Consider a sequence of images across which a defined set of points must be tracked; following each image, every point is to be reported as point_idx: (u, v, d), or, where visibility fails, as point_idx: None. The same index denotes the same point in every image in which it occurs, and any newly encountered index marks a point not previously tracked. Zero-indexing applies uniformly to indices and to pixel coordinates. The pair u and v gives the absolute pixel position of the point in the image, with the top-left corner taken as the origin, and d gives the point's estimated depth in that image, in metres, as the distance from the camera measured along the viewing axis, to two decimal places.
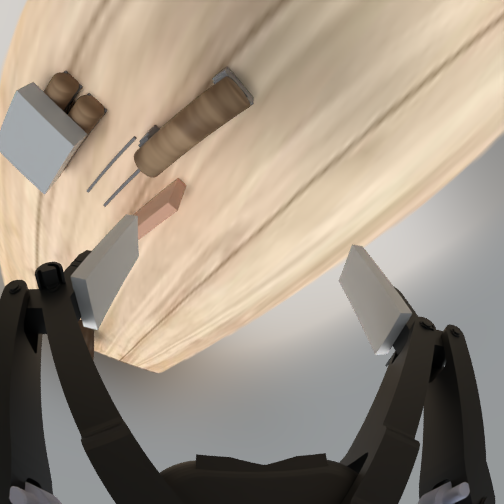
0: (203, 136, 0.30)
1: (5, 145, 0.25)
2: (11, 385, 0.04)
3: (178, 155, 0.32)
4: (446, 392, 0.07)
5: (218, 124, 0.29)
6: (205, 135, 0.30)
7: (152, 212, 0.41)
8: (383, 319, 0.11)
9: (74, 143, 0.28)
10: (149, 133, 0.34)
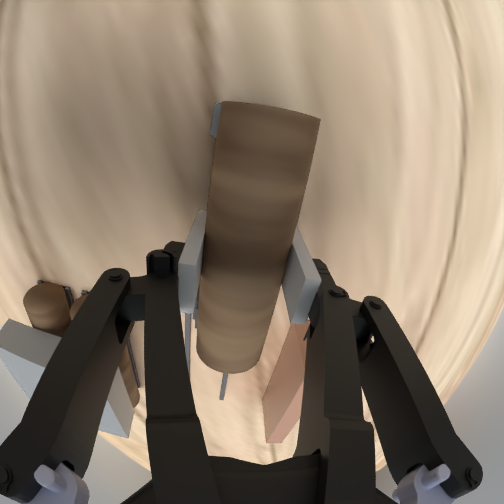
0: (286, 249, 0.14)
1: None
2: (83, 373, 0.06)
3: (268, 313, 0.16)
4: (385, 373, 0.08)
5: (295, 203, 0.12)
6: (288, 244, 0.14)
7: (290, 392, 0.23)
8: (296, 287, 0.13)
9: None
10: (197, 298, 0.20)
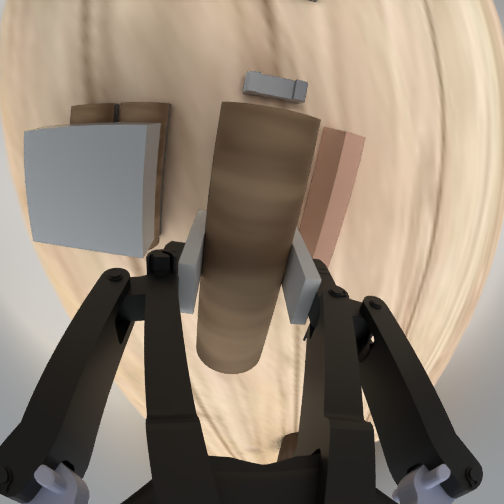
0: (286, 249, 0.14)
1: (44, 224, 0.21)
2: (83, 373, 0.06)
3: (268, 313, 0.16)
4: (385, 373, 0.08)
5: (295, 203, 0.12)
6: (288, 244, 0.14)
7: (332, 174, 0.24)
8: (296, 287, 0.13)
9: (146, 124, 0.19)
10: None
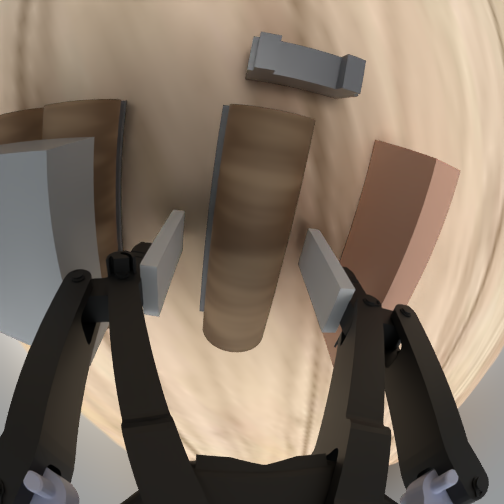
0: (288, 231, 0.16)
1: None
2: (56, 374, 0.05)
3: (273, 290, 0.18)
4: (408, 377, 0.08)
5: (296, 191, 0.14)
6: (290, 227, 0.16)
7: (401, 230, 0.13)
8: (328, 296, 0.13)
9: (49, 148, 0.08)
10: (257, 38, 0.11)
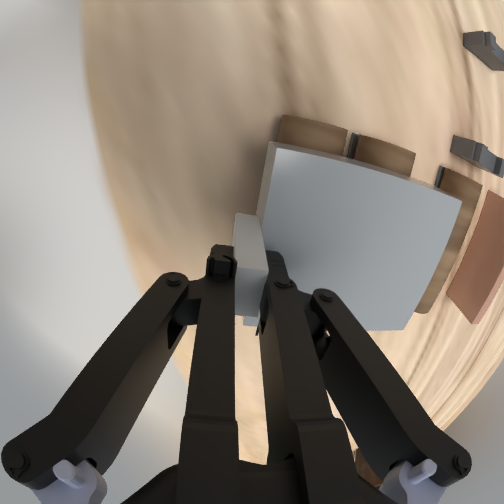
0: None
1: None
2: (127, 376, 0.06)
3: (448, 274, 0.24)
4: (347, 370, 0.08)
5: None
6: (463, 239, 0.22)
7: None
8: None
9: (456, 198, 0.15)
10: (474, 141, 0.18)
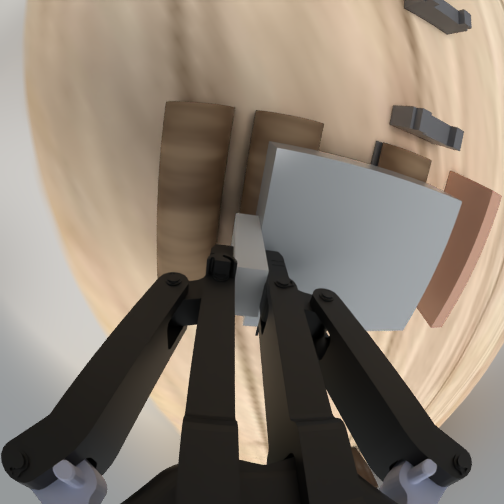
0: None
1: None
2: (127, 376, 0.06)
3: None
4: (347, 370, 0.08)
5: None
6: None
7: (472, 228, 0.20)
8: None
9: (456, 198, 0.15)
10: (414, 107, 0.17)
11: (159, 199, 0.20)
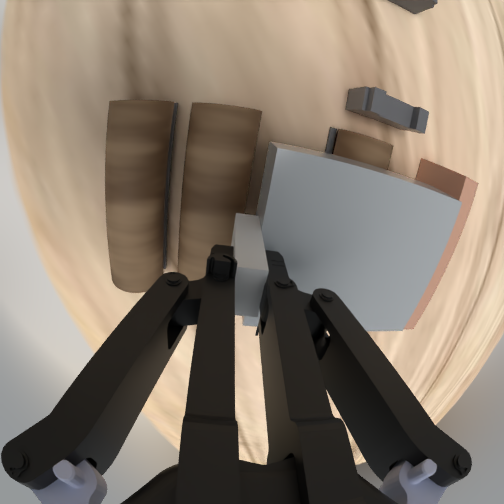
0: None
1: None
2: (126, 376, 0.06)
3: None
4: (347, 370, 0.08)
5: None
6: None
7: None
8: None
9: (456, 199, 0.15)
10: None
11: (105, 194, 0.19)
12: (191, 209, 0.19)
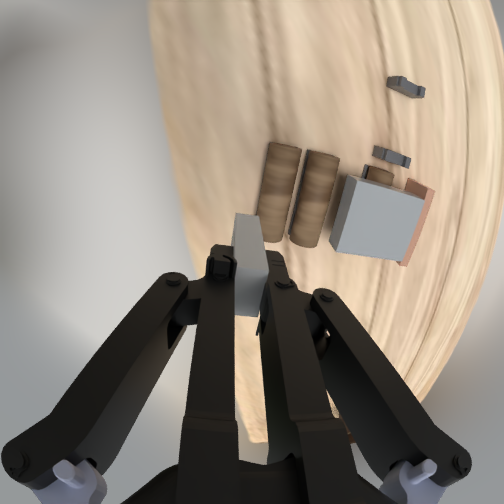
0: None
1: (352, 241, 0.41)
2: (126, 376, 0.06)
3: None
4: (347, 370, 0.08)
5: None
6: None
7: None
8: None
9: (422, 199, 0.39)
10: (383, 148, 0.40)
11: (265, 190, 0.42)
12: (309, 200, 0.43)
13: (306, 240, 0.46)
